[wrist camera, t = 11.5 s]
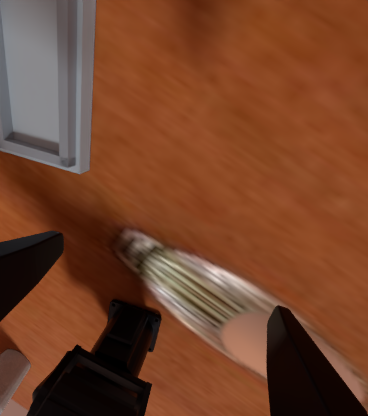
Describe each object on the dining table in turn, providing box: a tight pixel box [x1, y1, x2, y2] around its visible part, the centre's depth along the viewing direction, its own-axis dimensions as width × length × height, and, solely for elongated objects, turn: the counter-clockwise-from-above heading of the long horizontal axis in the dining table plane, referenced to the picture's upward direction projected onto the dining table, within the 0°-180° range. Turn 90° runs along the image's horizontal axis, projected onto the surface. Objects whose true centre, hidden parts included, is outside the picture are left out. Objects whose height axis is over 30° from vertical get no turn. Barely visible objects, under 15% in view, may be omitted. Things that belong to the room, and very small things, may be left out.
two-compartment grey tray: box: [0, 0, 96, 174], centre depth 18 cm, size 15×14×2 cm
